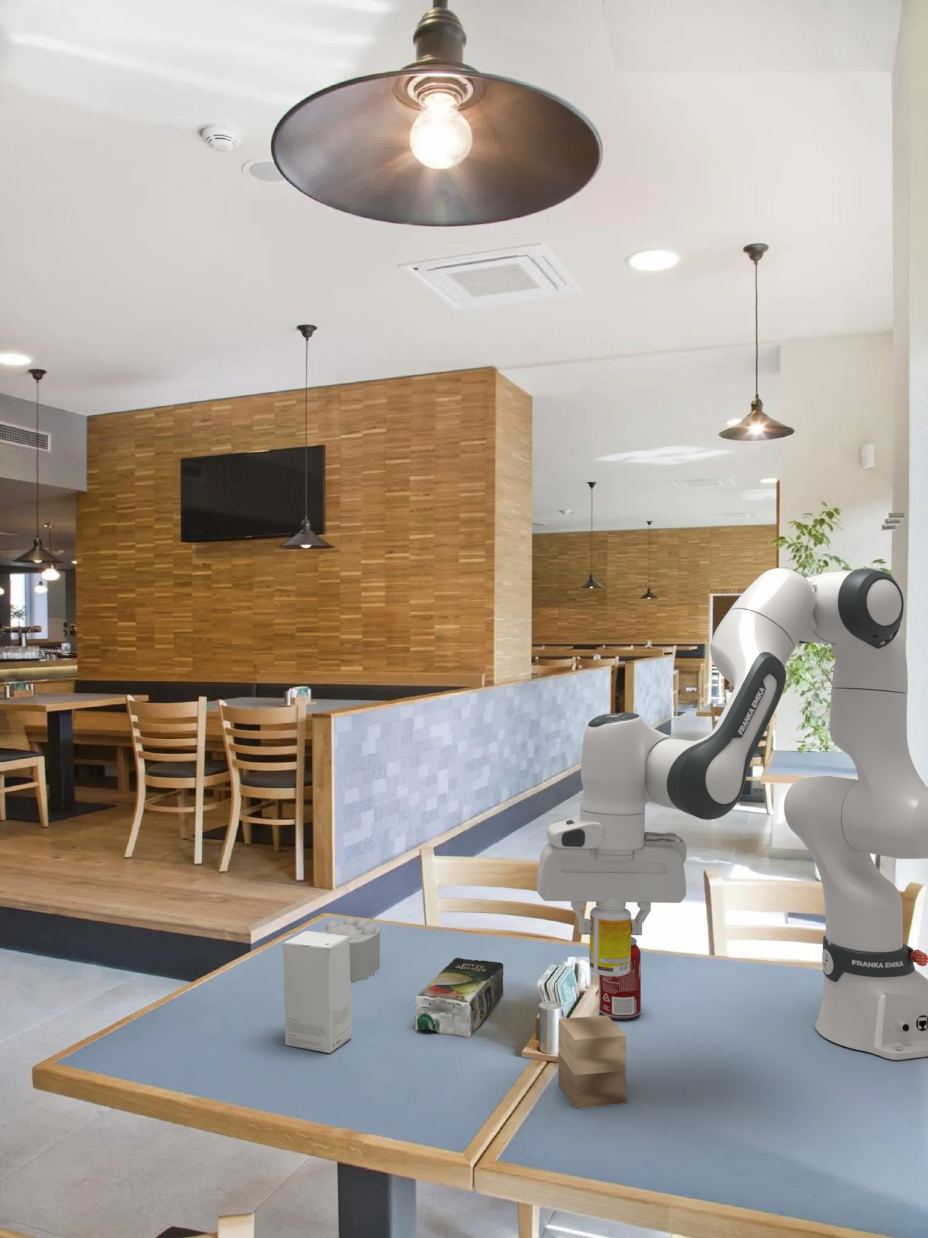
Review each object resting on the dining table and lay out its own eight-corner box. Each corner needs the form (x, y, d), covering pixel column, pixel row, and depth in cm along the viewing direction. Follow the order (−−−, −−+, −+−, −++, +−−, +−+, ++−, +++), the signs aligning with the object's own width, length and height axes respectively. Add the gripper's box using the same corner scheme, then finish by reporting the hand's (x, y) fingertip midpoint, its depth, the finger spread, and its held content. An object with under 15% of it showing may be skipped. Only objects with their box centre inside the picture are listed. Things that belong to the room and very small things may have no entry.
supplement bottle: (639, 974, 127) (640, 897, 128) (607, 980, 124) (608, 901, 125) (612, 963, 132) (613, 889, 132) (580, 968, 129) (582, 892, 129)
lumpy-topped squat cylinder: (309, 978, 169) (309, 929, 170) (339, 956, 182) (340, 911, 182) (362, 984, 166) (363, 935, 166) (389, 961, 179) (390, 915, 179)
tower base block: (606, 1081, 129) (606, 1048, 129) (626, 1105, 122) (626, 1070, 123) (558, 1086, 128) (558, 1052, 128) (575, 1110, 121) (575, 1075, 121)
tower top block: (607, 1048, 129) (607, 1015, 129) (625, 1070, 122) (625, 1035, 123) (558, 1052, 128) (558, 1019, 128) (574, 1075, 121) (574, 1040, 121)
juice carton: (471, 1042, 142) (471, 1000, 142) (410, 1034, 145) (410, 994, 145) (506, 997, 161) (505, 961, 162) (451, 991, 164) (451, 956, 165)
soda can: (640, 1024, 149) (640, 947, 149) (597, 1020, 150) (597, 944, 151) (641, 1008, 155) (640, 934, 156) (599, 1005, 157) (599, 932, 157)
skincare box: (352, 1039, 142) (353, 935, 143) (328, 1056, 136) (329, 948, 137) (306, 1030, 146) (307, 928, 146) (280, 1046, 140) (282, 940, 140)
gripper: (680, 829, 132) (678, 928, 132) (536, 826, 131) (533, 926, 131) (693, 837, 126) (691, 941, 125) (542, 834, 125) (539, 940, 124)
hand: (610, 934), depth 128 cm, fingers closed on supplement bottle, 6 cm apart
